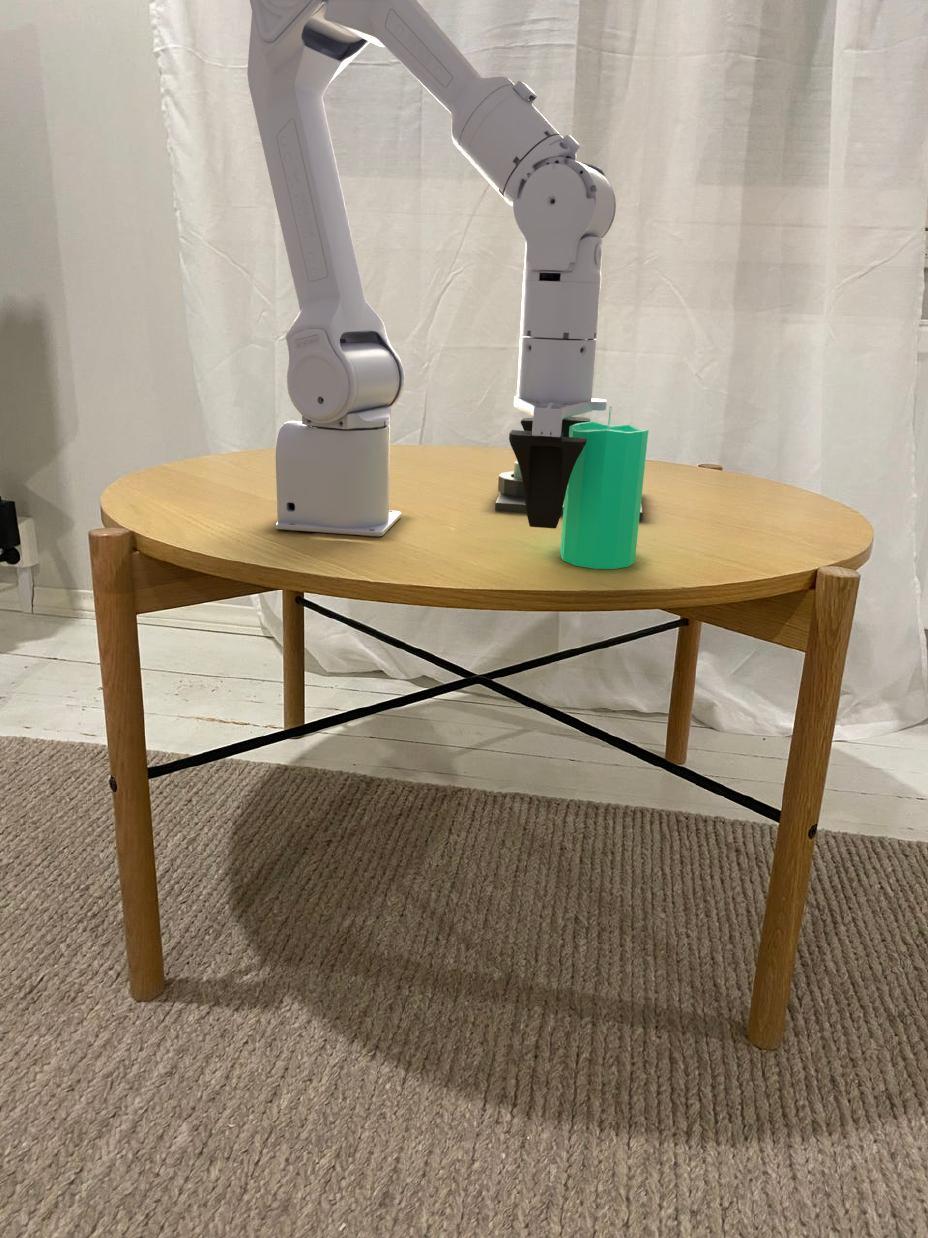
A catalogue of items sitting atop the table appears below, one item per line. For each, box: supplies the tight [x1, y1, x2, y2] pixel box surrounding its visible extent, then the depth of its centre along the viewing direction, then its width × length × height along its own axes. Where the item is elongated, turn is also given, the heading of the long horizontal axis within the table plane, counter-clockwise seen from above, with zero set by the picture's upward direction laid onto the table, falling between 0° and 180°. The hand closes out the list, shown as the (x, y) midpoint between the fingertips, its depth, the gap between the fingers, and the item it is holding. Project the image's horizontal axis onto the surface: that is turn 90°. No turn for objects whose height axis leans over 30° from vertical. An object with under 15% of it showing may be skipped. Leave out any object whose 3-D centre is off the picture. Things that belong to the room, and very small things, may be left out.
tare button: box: [513, 460, 522, 479], centre depth 93 cm, size 3×3×2 cm
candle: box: [559, 406, 649, 570], centre depth 72 cm, size 6×6×12 cm
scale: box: [494, 470, 644, 522], centre depth 93 cm, size 14×12×2 cm
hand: (546, 515), depth 74 cm, fingers open, 7 cm apart
